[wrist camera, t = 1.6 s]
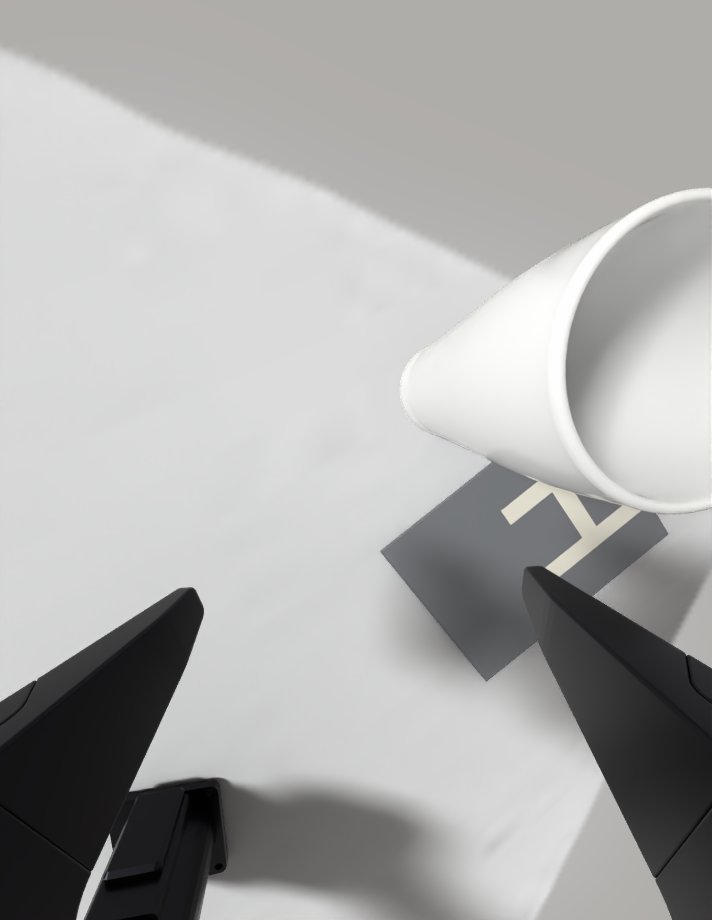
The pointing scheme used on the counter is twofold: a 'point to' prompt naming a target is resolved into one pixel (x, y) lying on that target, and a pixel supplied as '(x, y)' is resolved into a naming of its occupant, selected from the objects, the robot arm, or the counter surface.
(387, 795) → the counter surface
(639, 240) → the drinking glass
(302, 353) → the counter surface
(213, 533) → the counter surface
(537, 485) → the board
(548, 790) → the counter surface
